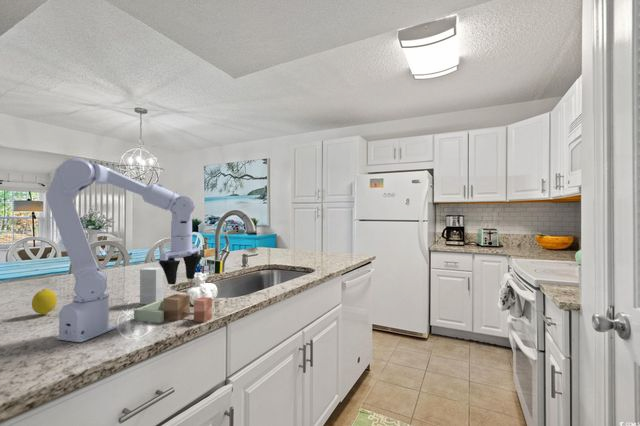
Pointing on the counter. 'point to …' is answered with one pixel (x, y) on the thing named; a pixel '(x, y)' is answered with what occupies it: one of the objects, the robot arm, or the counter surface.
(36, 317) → the counter surface
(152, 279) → the skincare box
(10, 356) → the counter surface
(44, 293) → the lemon
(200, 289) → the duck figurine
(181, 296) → the tethered block
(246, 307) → the counter surface
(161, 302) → the green l-shaped block
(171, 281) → the robot arm
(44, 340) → the counter surface
